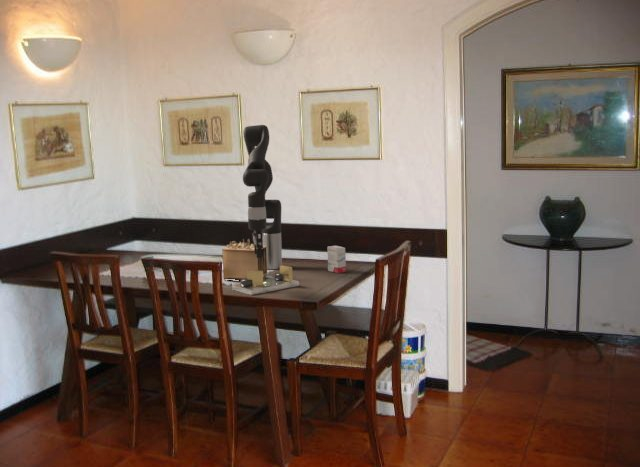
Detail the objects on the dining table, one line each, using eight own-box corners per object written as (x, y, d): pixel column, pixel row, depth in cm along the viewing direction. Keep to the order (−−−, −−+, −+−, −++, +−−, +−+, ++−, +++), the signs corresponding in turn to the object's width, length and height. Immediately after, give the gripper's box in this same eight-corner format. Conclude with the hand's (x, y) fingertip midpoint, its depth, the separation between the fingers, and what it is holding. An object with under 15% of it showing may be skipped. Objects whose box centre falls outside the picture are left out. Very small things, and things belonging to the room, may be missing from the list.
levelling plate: (231, 289, 310) (231, 278, 310) (278, 280, 326) (278, 270, 326) (251, 294, 299) (251, 283, 299) (299, 285, 315) (298, 275, 315)
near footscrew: (240, 286, 305) (239, 272, 304) (241, 283, 310) (241, 270, 309) (262, 286, 305) (262, 272, 304) (263, 283, 310) (263, 269, 309)
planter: (222, 287, 316) (222, 244, 313) (213, 276, 339) (213, 235, 337) (278, 284, 323) (279, 242, 320) (266, 273, 346) (267, 234, 344)
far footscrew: (272, 278, 319) (272, 265, 318) (282, 277, 322) (281, 263, 322) (286, 282, 312) (285, 268, 311) (295, 280, 315) (295, 266, 315)
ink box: (346, 272, 343) (346, 247, 341) (337, 273, 340) (337, 248, 339) (336, 269, 350) (335, 245, 349) (327, 270, 348) (326, 246, 346)
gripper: (246, 215, 310) (247, 253, 313) (249, 220, 296) (251, 259, 299) (264, 215, 312) (265, 252, 314) (268, 219, 298) (269, 258, 300)
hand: (258, 256), depth 307 cm, fingers open, 8 cm apart
